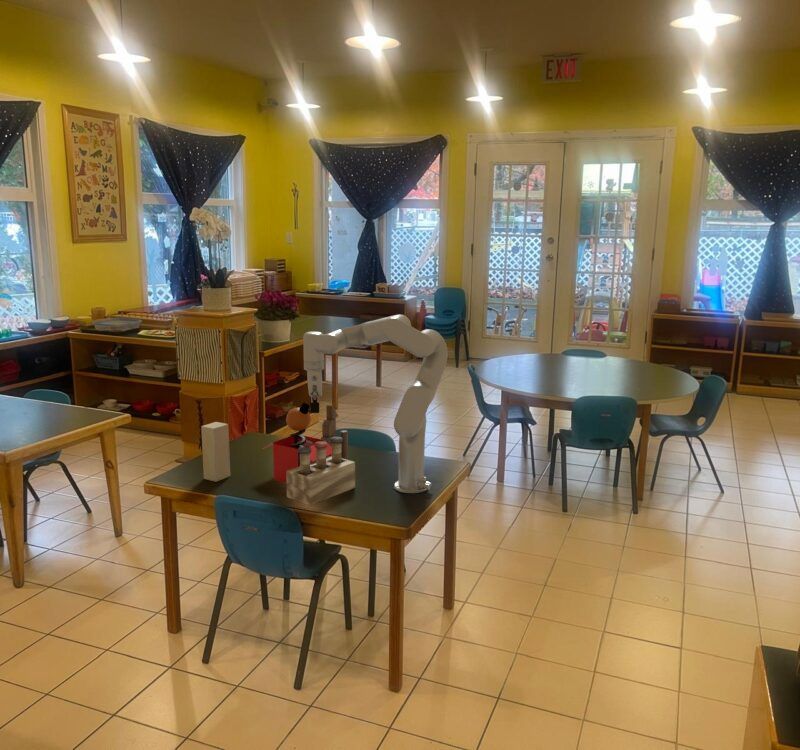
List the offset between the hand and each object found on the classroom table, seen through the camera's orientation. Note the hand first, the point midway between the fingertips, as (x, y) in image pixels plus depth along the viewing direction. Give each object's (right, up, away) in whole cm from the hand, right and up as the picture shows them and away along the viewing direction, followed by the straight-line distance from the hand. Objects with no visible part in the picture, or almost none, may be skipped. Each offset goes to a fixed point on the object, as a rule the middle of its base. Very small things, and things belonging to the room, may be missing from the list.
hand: (314, 409), depth 277 cm
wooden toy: (+5, -24, +22) cm, 33 cm away
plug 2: (+9, -19, -4) cm, 22 cm away
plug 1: (-1, -22, -16) cm, 27 cm away
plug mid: (+4, -21, -10) cm, 23 cm away
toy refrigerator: (-39, -27, +7) cm, 47 cm away
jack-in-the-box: (-7, -27, +8) cm, 29 cm away
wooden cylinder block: (+3, -30, -8) cm, 31 cm away
